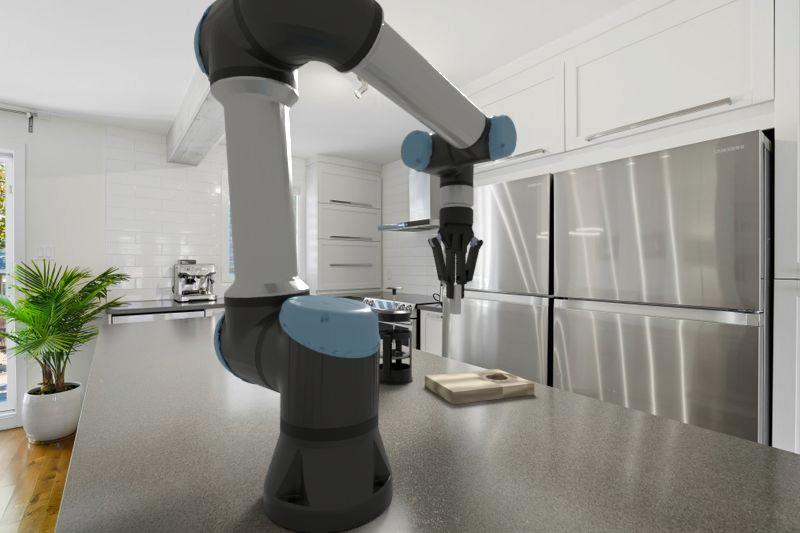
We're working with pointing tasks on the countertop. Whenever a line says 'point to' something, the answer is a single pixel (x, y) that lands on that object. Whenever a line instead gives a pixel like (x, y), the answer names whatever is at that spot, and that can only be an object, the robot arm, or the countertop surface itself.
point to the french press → (395, 347)
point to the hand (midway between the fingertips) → (455, 313)
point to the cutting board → (477, 386)
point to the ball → (498, 376)
